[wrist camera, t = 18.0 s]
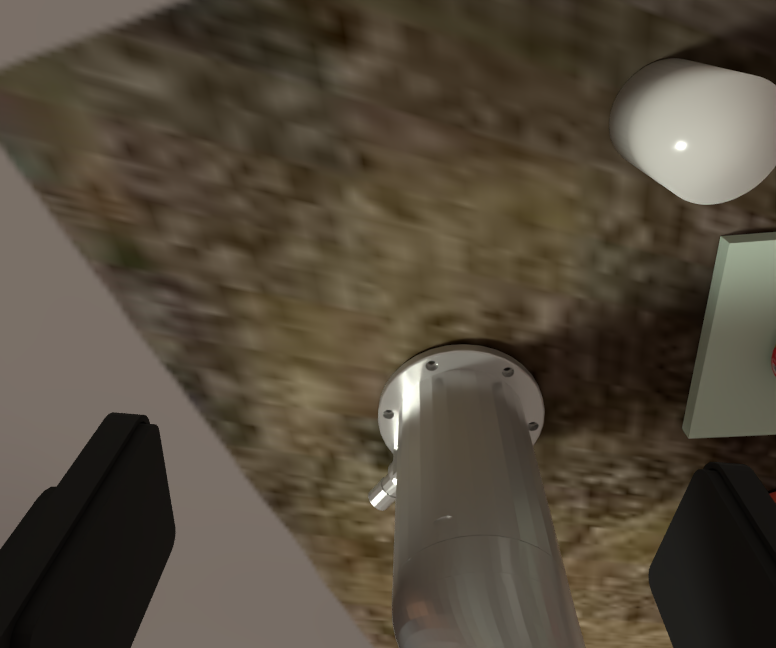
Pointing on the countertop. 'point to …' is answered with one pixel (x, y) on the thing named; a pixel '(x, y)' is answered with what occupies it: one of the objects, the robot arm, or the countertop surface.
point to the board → (737, 344)
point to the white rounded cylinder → (697, 128)
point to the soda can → (774, 361)
